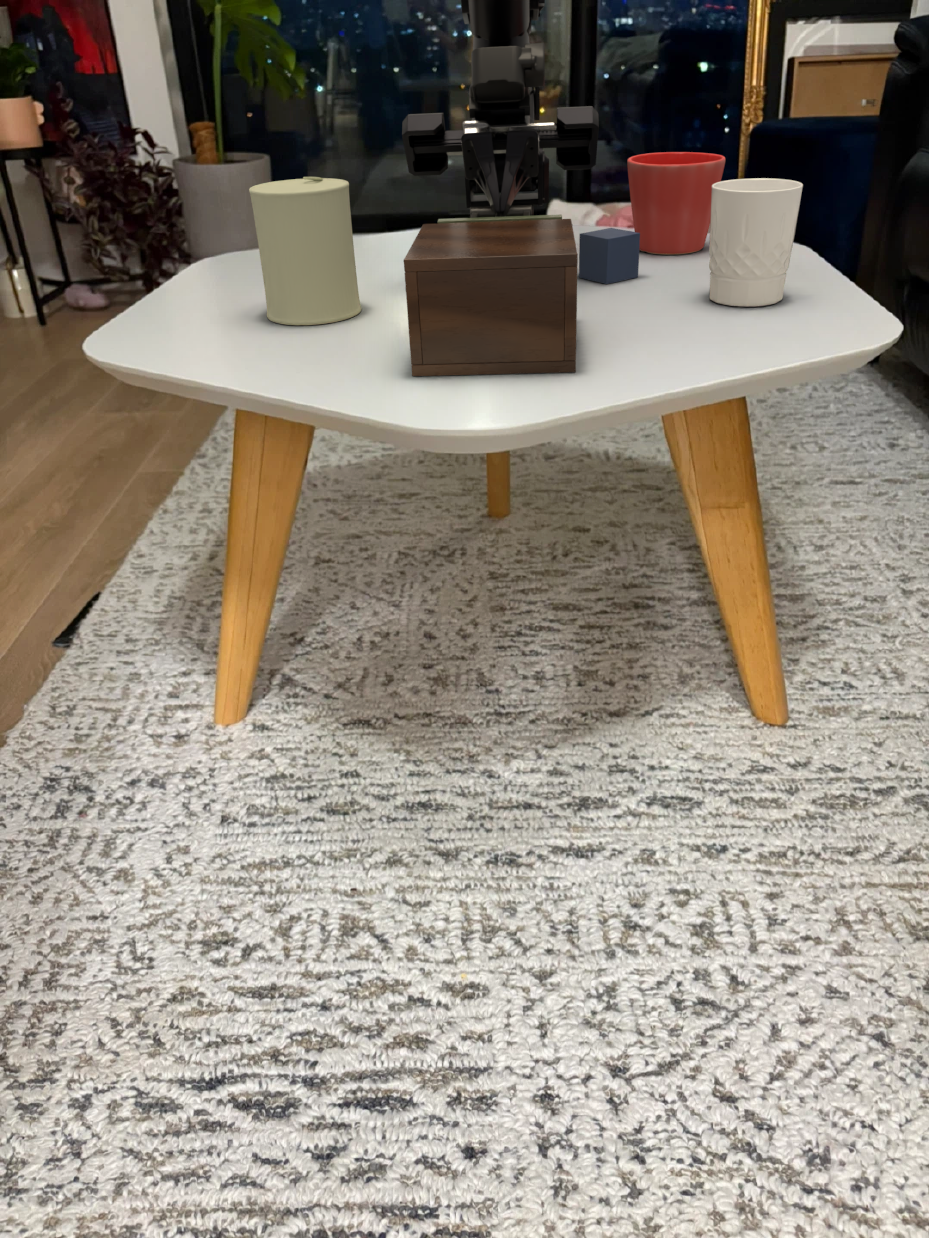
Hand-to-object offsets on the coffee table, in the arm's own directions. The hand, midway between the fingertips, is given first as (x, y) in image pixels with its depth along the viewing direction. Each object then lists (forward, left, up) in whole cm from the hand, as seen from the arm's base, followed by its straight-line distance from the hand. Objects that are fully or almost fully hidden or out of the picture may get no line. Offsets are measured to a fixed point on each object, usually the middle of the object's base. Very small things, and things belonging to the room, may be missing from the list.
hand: (500, 215), depth 93 cm
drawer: (+5, -4, -7) cm, 9 cm away
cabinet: (+14, -11, -8) cm, 19 cm away
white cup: (+17, +16, -8) cm, 25 cm away
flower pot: (-5, +28, -8) cm, 30 cm away
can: (-8, -17, -8) cm, 20 cm away
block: (+1, +13, -8) cm, 15 cm away
